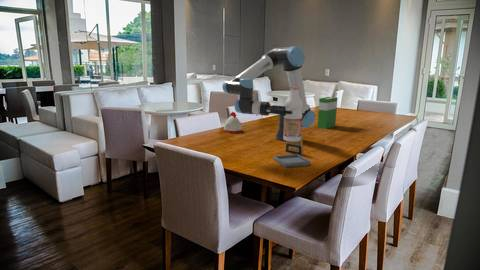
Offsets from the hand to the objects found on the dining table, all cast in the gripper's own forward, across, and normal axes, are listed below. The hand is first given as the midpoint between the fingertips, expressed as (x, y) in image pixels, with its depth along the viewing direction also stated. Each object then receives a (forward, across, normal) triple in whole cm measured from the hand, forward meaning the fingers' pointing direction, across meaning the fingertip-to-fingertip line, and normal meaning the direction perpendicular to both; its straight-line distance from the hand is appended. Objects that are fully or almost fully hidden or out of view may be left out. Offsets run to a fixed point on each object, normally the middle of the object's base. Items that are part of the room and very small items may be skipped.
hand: (301, 111), depth 169 cm
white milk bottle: (-4, 0, -16) cm, 16 cm away
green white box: (-10, -107, -28) cm, 111 cm away
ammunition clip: (-9, -19, -28) cm, 35 cm away
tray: (-4, -1, -28) cm, 28 cm away
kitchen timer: (-69, -54, -28) cm, 92 cm away
